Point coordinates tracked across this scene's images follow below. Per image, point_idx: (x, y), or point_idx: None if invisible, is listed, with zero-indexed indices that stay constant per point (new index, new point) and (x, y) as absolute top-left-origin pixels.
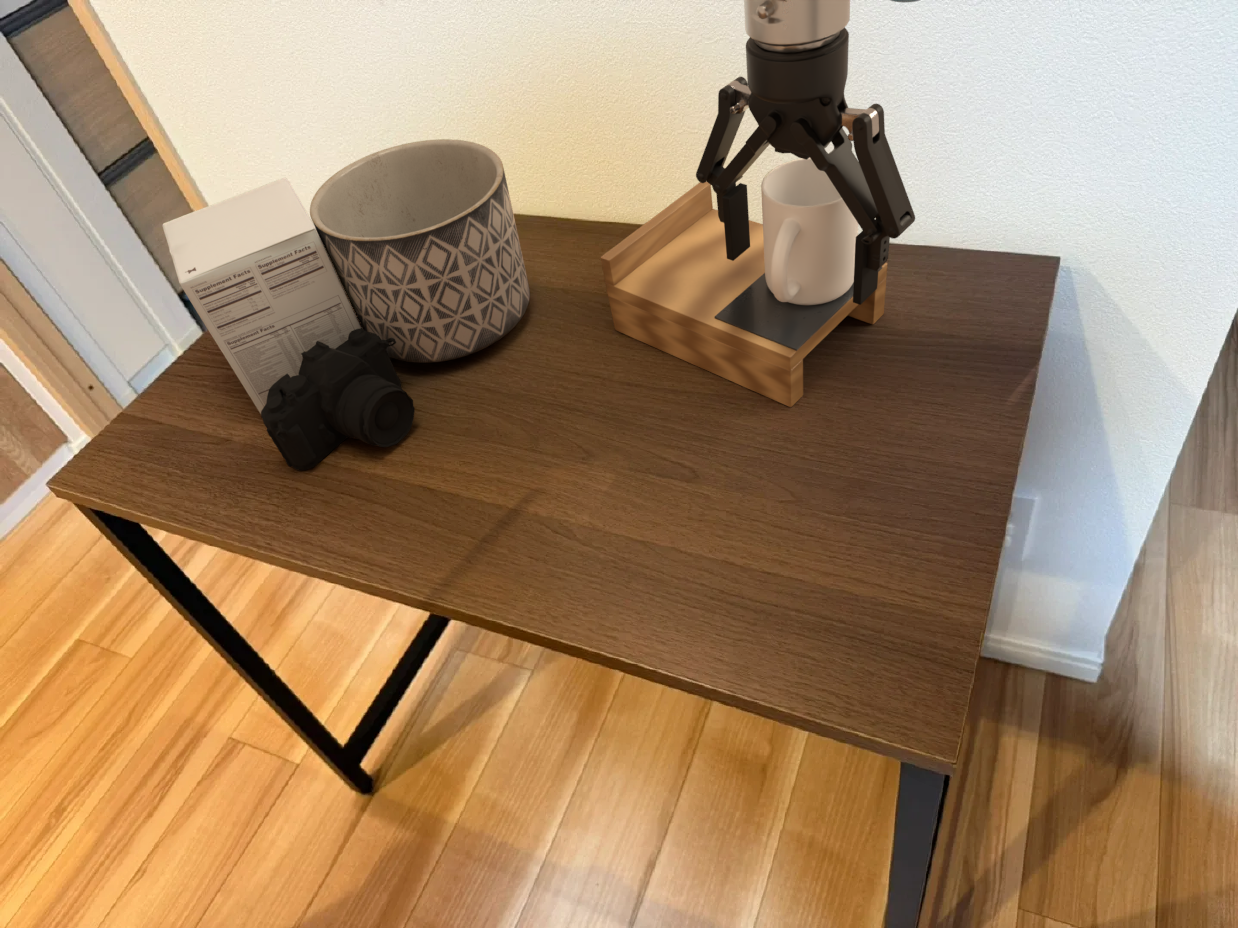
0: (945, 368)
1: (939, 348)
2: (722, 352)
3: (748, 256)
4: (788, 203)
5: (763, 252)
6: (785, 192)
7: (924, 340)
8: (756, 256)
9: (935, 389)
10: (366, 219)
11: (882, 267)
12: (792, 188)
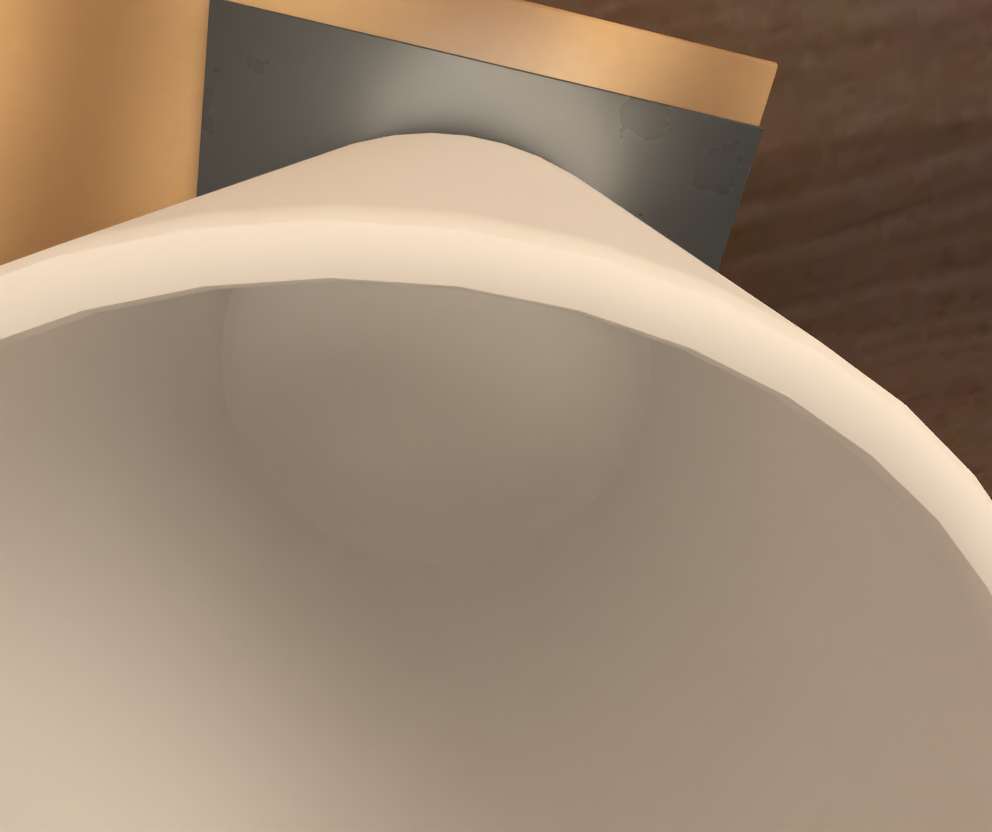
0: (947, 316)
1: (919, 218)
2: None
3: (6, 240)
4: (88, 352)
5: (60, 174)
6: (2, 423)
7: (862, 190)
8: (48, 226)
9: (922, 421)
10: None
11: (759, 118)
12: (33, 362)
